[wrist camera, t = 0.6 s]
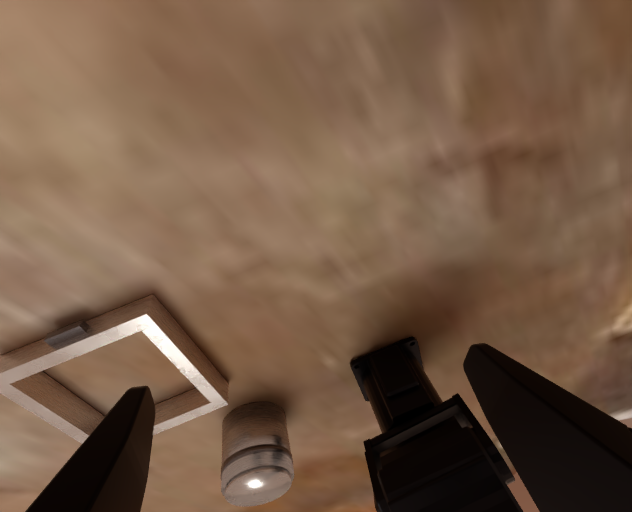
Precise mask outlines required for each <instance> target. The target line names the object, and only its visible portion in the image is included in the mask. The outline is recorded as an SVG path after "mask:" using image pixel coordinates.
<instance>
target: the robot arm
mask: <svg viewBox="0 0 632 512" xmlns="http://www.w3.org/2000/svg"><path fill="white" fill-rule="evenodd" d="M350 366H351V368H352V371H353V373H354V375H355V378H356V380H357V382H358V385H359V387H360V389H361V392H362V394H363V396H364V399H365V400H366V401H370V404H371V406H372V409H373V411H374V414H375V416H376V419H377V421H378V424H379V426H380V429H381V431H382V434H380V435H378V436H376V437H374V438H372V439H368V440H366V441H364V446H365V450H366V452H365V456H366V461H367V465H368V469H369V474H370V478H371V482H372V487H373V492H374V502H375V508H376V511H377V512H523V510H522V509H521V507H520V506H519V504H518V502H517V501H516V499H515V497H514V496H513V494H512V493H511V491H510V489H509V488H508V486H507V485H508V484H510V483H512V482H514V481H515V478H514V476H513V475H512V473H511V471H510V469H509V467H508V466H507V464H506V462H505V461H504V459H503V458H502V456H501V454H500V453H499V451H498V450H497V448H496V447H495V445H494V444H493V442H492V441H491V439H490V438H489V436H488V435H487V433H486V432H485V430H484V429H483V428H482V426H481V425H480V423H479V422H478V421H477V419H476V418H475V416H474V415H473V414H472V412H471V411H470V409H469V408H468V407H467V405H466V404H465V402H464V401H463V400H462V398H461V397H460V395H459V394H458V393H457V394H455V395H453V396H452V398H450V399H448V400H446V401H445V402H442V400H441V398H440V397H439V395H438V393H437V392H436V390H435V388H434V387H433V385H432V383H431V382H430V380H429V378H428V377H427V375H426V373H425V372H424V370H423V365H422V361H421V356H420V351H419V346H418V342H417V340H416V339H415V337H409V338H407V339H404V340H402V341H400V342H397V343H395V344H392V345H390V346H387V347H385V348H382V349H380V350H378V351H375V352H373V353H370V354H368V355H365V356H363V357H360V358H358V359H356V360H353V361H352V362H351V363H350ZM463 367H464V371H465V373H466V376H467V378H468V380H469V382H470V384H471V386H472V389H473V391H474V393H475V395H476V397H477V399H478V402H479V404H480V406H481V408H482V410H483V412H484V414H485V416H486V418H487V420H488V422H489V424H490V426H491V428H492V429H493V431H494V433H495V435H496V436H497V438H498V440H499V442H500V443H501V445H502V447H503V449H504V450H505V452H506V454H507V455H508V457H509V459H510V461H511V462H512V464H513V466H514V468H515V469H516V471H517V473H518V475H519V476H520V478H521V480H522V481H523V483H524V485H525V487H526V488H527V490H528V492H529V494H530V495H531V497H532V499H533V501H534V502H535V504H536V506H537V508H538V509H539V511H540V512H632V428H628V427H627V426H626V425H625V424H623V423H621V422H620V421H618V420H616V419H614V418H613V417H611V416H609V415H608V414H606V413H604V412H603V411H601V410H599V409H597V408H596V407H594V406H592V405H591V404H589V403H587V402H585V401H584V400H582V399H580V398H579V397H577V396H575V395H573V394H572V393H570V392H568V391H567V390H565V389H563V388H561V387H560V386H558V385H556V384H555V383H553V382H551V381H549V380H548V379H546V378H544V377H543V376H541V375H539V374H538V373H536V372H534V371H532V370H531V369H529V368H527V367H526V366H524V365H522V364H520V363H519V362H517V361H515V360H514V359H512V358H510V357H508V356H507V355H505V354H503V353H502V352H500V351H498V350H496V349H495V348H493V347H491V346H490V345H488V344H485V343H479V344H473V345H471V346H470V348H469V350H468V353H467V355H466V358H465V360H464V363H463ZM154 422H155V404H154V401H153V398H152V395H151V391H150V388H149V387H148V386H139V387H132V388H130V389H128V390H127V391H126V392H125V394H124V395H123V396H122V397H121V398H120V400H119V401H118V402H117V403H116V404H115V406H114V407H113V408H112V409H111V410H110V411H109V413H108V414H107V415H106V416H105V417H104V419H103V420H102V421H101V422H100V423H99V425H98V426H97V427H96V428H95V429H94V430H93V432H92V433H91V434H90V435H89V436H88V438H87V439H86V440H85V441H84V442H83V444H82V445H81V446H80V447H79V448H78V449H77V451H76V452H75V453H74V454H73V455H72V457H71V458H70V459H69V460H68V461H67V463H66V464H65V465H64V466H63V467H62V468H61V470H60V471H59V472H58V473H57V474H56V476H55V477H54V478H53V479H52V480H51V482H50V483H49V484H48V485H47V486H46V487H45V489H44V490H43V491H42V492H41V493H40V495H39V496H38V497H37V498H36V499H35V501H34V502H33V503H32V504H31V505H30V506H29V508H28V509H27V510H26V511H25V512H140V510H141V506H142V502H143V497H144V493H145V488H146V483H147V477H148V470H149V462H150V454H151V446H152V438H153V430H154Z"/></svg>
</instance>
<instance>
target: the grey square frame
mask: <svg viewBox="0 0 632 512" xmlns="http://www.w3.org/2000/svg"><path fill="white" fill-rule="evenodd" d="M141 330H142V331H143V333H144V334H145V335H146V336H147V337H148V338H149V339H150V340H151V341H152V342H153V343H154V344H155V345H156V346H157V347H158V348H159V349H160V350H161V351H162V352H163V353H164V354H165V355H166V357H167V358H168V359H169V360H170V361H171V362H172V363H173V364H174V365H175V366H176V367H177V368H178V369H179V370H180V371H181V372H182V373H183V374H184V375H185V376H186V377H187V378H188V379H189V380H190V382H191V383H192V384H193V385H194V386H195V387H196V388H195V389H193V390H190V391H188V392H185V393H183V394H180V395H178V396H175V397H173V398H171V399H168V400H166V401H163V402H161V403H158V404H156V405H155V422H154V430H153V435H155V434H157V433H160V432H162V431H165V430H167V429H169V428H172V427H174V426H177V425H179V424H182V423H184V422H187V421H189V420H191V419H194V418H196V417H199V416H201V415H204V414H206V413H209V412H211V411H213V410H216V409H218V408H221V407H223V406H226V405H228V388H229V383H228V382H227V381H226V380H225V379H224V378H223V376H222V375H221V374H220V373H219V372H218V370H217V369H216V368H215V367H214V366H213V365H212V363H211V362H210V361H209V360H208V359H207V357H206V356H205V355H204V354H203V353H202V351H201V350H200V349H199V348H198V347H197V346H196V344H195V343H194V342H193V341H192V340H191V338H190V337H189V336H188V335H187V334H186V333H185V331H184V330H183V329H182V328H181V327H180V325H179V324H178V323H177V322H176V321H175V320H174V318H173V317H172V316H171V315H170V314H169V312H168V311H167V310H166V309H165V308H164V306H163V305H162V304H161V303H160V302H159V301H158V299H157V298H156V297H155V296H154V295H153V294H152V295H149V296H147V297H144V298H142V299H139V300H137V301H135V302H132V303H130V304H127V305H125V306H122V307H120V308H117V309H115V310H112V311H110V312H107V313H105V314H103V315H100V316H98V317H95V318H93V319H90V320H88V321H84V320H81V321H78V322H76V323H73V324H71V325H68V326H66V327H63V328H61V329H58V330H56V331H53V332H51V333H49V334H47V336H46V338H43V339H41V340H39V341H36V342H34V343H31V344H29V345H26V346H24V347H21V348H19V349H16V350H14V351H11V352H9V353H6V354H4V355H2V356H0V394H2V395H4V396H5V397H7V398H8V399H10V400H12V401H13V402H15V403H17V404H18V405H20V406H21V407H23V408H25V409H26V410H28V411H30V412H31V413H33V414H34V415H36V416H38V417H39V418H41V419H43V420H44V421H46V422H47V423H49V424H51V425H52V426H54V427H56V428H57V429H59V430H60V431H62V432H64V433H65V434H67V435H69V436H70V437H72V438H73V439H75V440H77V441H78V442H80V443H82V444H83V442H84V441H85V440H86V439H87V438H88V436H89V435H90V434H91V433H92V432H93V430H94V429H95V428H96V427H97V426H98V425H99V423H100V422H101V421H102V420H103V419H104V417H105V416H104V415H102V414H101V413H99V412H98V411H97V410H95V409H94V408H92V407H91V406H90V405H88V404H87V403H86V402H84V401H83V400H81V399H80V398H79V397H77V396H76V395H75V394H73V393H72V392H70V391H69V390H68V389H66V388H65V387H63V386H62V385H61V384H59V383H58V382H57V381H55V380H54V379H52V378H51V377H50V376H48V375H47V374H45V373H44V372H43V370H45V369H48V368H50V367H53V366H55V365H58V364H60V363H63V362H65V361H67V360H70V359H72V358H75V357H77V356H80V355H82V354H85V353H87V352H90V351H92V350H94V349H97V348H99V347H102V346H104V345H107V344H109V343H112V342H114V341H117V340H119V339H122V338H124V337H126V336H129V335H131V334H134V333H136V332H139V331H141Z"/></svg>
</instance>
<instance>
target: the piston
mask: <svg viewBox="0 0 632 512" xmlns="http://www.w3.org/2000/svg"><path fill="white" fill-rule="evenodd" d="M293 478H294V470H293V460H292V454H291V451H290V444H289V438H288V431H287V425H286V418H285V413H284V411H283V409H282V408H281V407H280V406H278V405H276V404H274V403H270V402H253V403H248V404H244V405H242V406H239V407H237V408H235V409H234V410H232V411H231V412H230V413H229V414H228V415H227V416H226V417H225V418H224V420H223V424H222V467H221V492H222V494H223V495H224V496H225V498H226V500H227V501H228V502H229V503H230V504H233V505H236V506H256V505H261V504H265V503H268V502H270V501H273V500H275V499H277V498H279V497H280V496H282V495H283V494H285V493H286V492H287V491H288V490H289V488H290V487H291V483H292V481H293Z"/></svg>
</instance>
